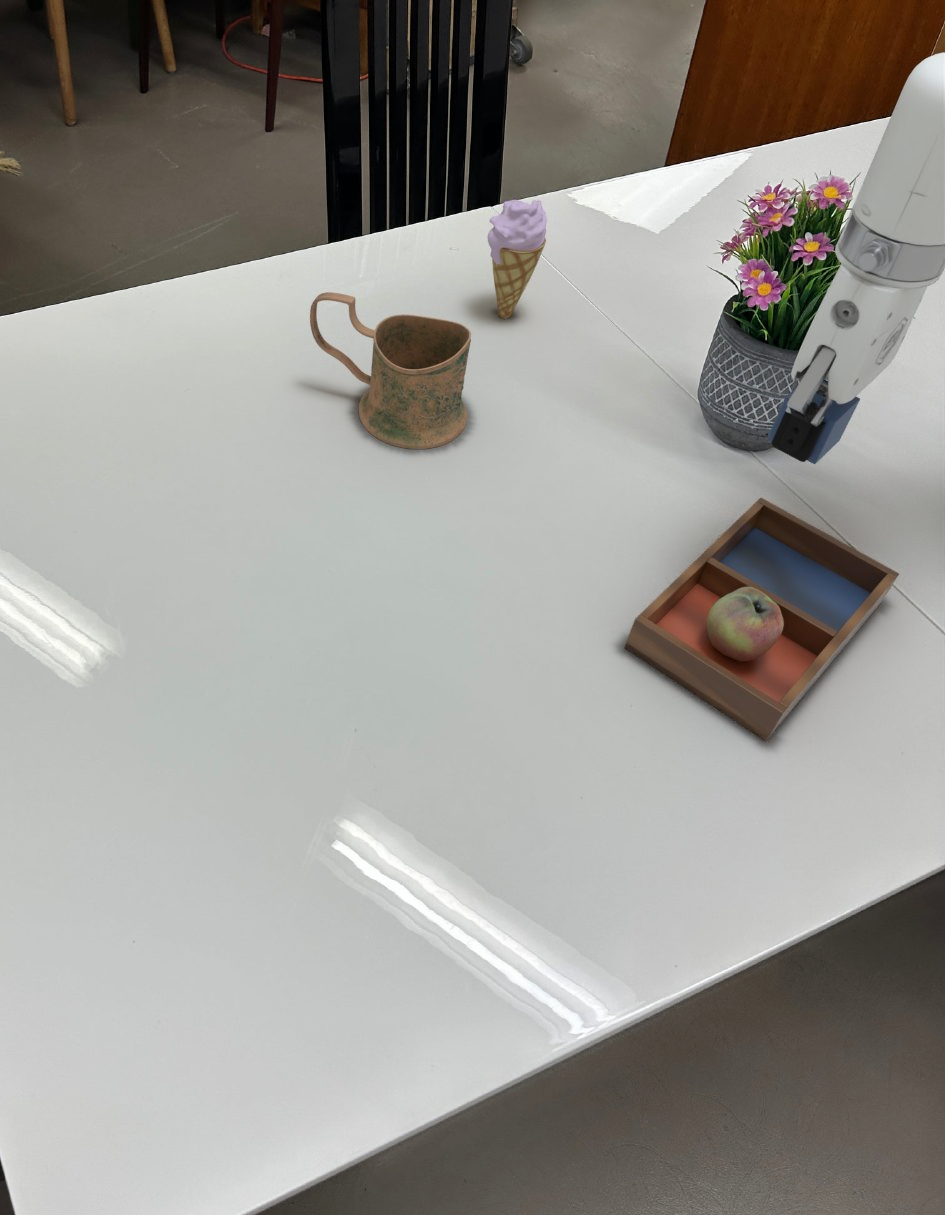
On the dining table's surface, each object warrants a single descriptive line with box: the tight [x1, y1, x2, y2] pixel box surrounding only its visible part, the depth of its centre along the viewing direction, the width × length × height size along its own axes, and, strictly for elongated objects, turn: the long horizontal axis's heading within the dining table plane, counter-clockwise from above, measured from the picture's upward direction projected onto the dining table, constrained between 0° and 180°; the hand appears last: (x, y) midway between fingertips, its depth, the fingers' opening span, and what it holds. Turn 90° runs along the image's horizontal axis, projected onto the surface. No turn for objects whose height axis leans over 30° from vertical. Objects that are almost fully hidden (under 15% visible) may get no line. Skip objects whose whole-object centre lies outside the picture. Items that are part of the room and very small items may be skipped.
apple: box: [707, 587, 784, 662], centre depth 92 cm, size 6×8×6 cm
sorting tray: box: [623, 497, 900, 742], centre depth 96 cm, size 22×14×4 cm, turn 137°
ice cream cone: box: [487, 199, 548, 320], centre depth 123 cm, size 7×6×15 cm
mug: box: [309, 291, 472, 450], centre depth 112 cm, size 12×18×12 cm, turn 70°
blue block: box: [766, 381, 861, 465], centre depth 91 cm, size 4×4×4 cm
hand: (804, 437), depth 92 cm, fingers closed on blue block, 4 cm apart
